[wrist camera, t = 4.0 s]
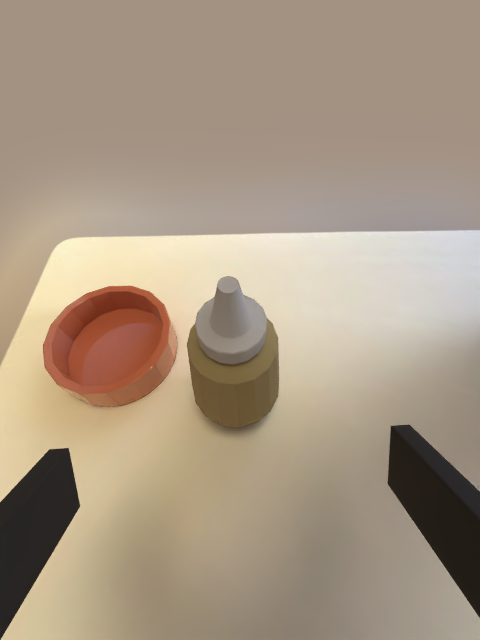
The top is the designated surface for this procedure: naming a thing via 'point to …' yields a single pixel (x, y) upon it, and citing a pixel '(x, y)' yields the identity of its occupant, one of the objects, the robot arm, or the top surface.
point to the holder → (111, 346)
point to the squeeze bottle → (233, 358)
